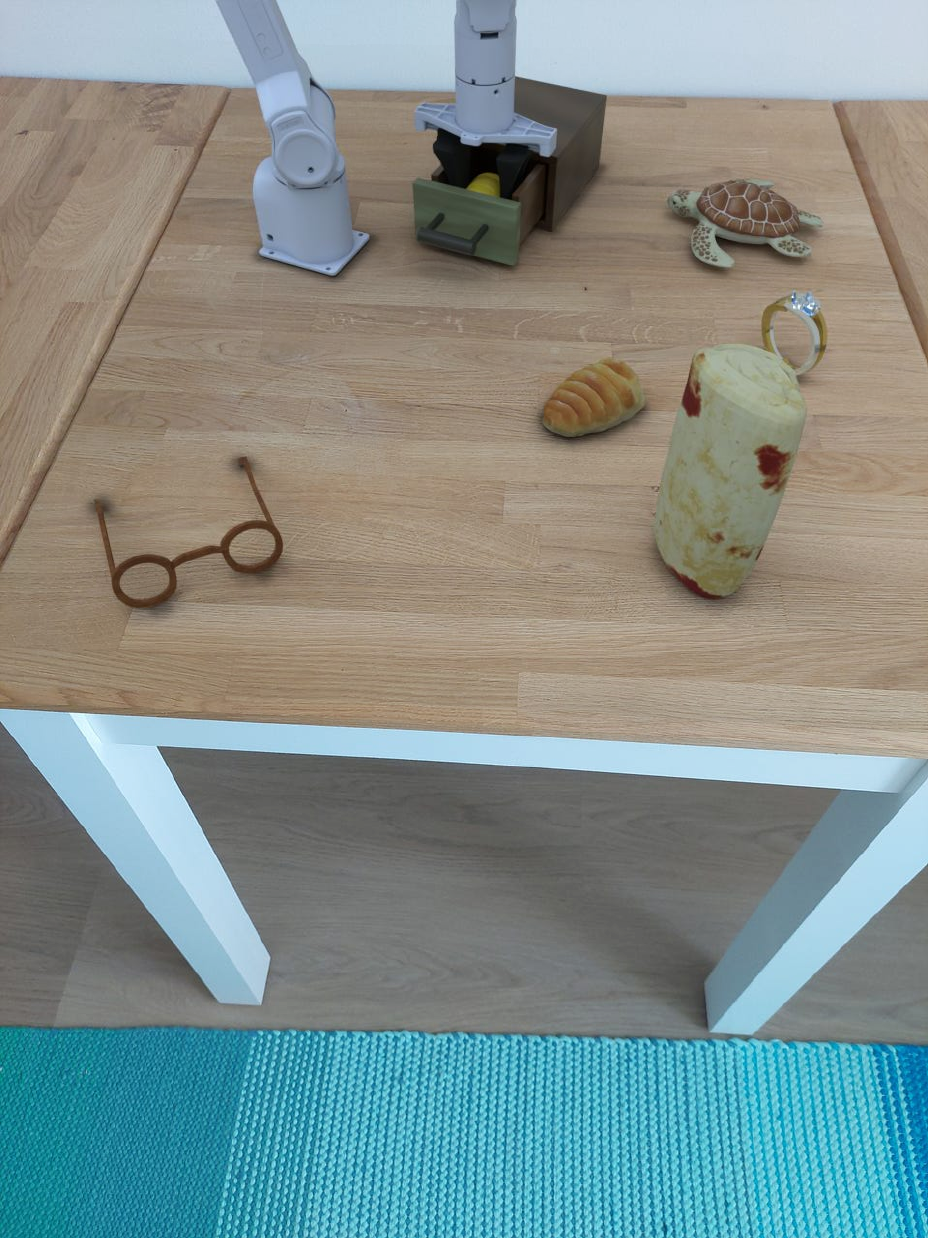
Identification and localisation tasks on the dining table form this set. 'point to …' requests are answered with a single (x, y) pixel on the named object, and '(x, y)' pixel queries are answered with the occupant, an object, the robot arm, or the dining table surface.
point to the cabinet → (562, 139)
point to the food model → (727, 465)
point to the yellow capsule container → (486, 184)
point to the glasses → (191, 552)
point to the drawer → (479, 210)
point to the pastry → (594, 399)
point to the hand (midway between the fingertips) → (484, 207)
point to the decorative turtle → (741, 219)
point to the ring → (808, 314)
